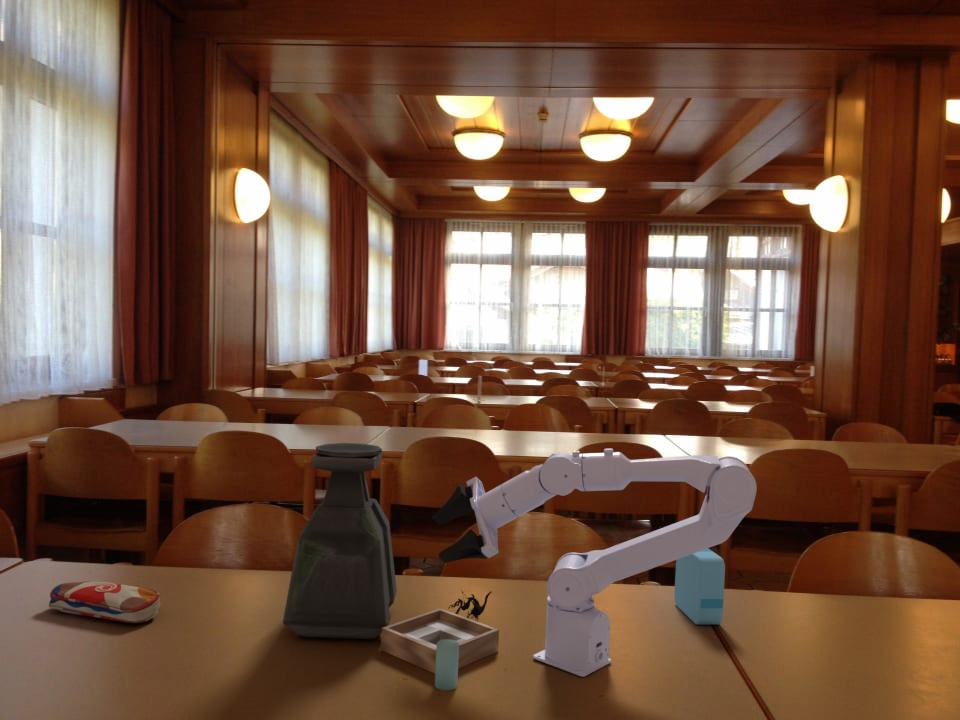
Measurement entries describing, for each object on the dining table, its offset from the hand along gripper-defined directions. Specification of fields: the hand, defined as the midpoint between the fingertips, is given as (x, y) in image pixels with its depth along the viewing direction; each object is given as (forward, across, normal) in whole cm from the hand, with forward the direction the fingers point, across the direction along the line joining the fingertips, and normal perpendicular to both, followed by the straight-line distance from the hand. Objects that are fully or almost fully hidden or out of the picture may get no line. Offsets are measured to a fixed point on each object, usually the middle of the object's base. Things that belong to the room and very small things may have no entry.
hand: (438, 539), depth 127 cm
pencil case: (+57, -6, -16) cm, 59 cm away
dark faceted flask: (+23, +2, +5) cm, 24 cm away
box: (+8, +13, +9) cm, 17 cm away
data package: (-26, +6, +46) cm, 53 cm away
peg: (+4, +22, +2) cm, 23 cm away
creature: (+8, +2, +20) cm, 21 cm away
